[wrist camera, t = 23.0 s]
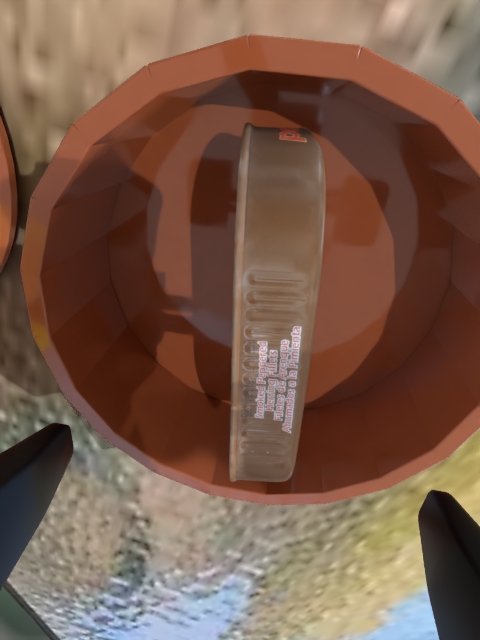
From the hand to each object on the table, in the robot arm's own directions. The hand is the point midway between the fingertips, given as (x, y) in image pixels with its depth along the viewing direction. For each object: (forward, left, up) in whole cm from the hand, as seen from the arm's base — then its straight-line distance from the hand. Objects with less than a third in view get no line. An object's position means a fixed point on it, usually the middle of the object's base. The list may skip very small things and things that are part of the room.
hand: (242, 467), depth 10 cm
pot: (0, 0, -12) cm, 12 cm away
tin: (0, 0, -12) cm, 12 cm away
